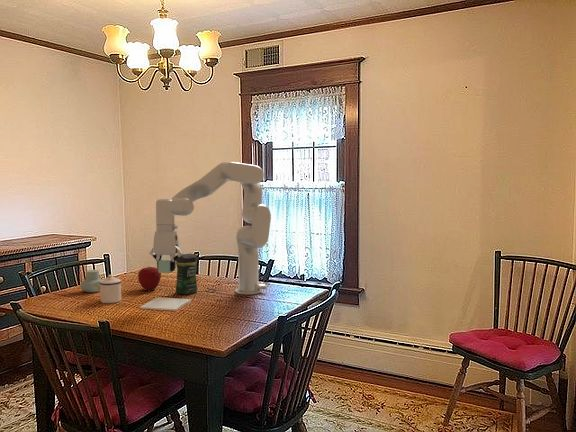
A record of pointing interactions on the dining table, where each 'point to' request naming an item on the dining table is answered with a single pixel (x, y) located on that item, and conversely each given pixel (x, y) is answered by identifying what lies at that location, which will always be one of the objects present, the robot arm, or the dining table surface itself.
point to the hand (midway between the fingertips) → (166, 269)
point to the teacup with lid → (110, 290)
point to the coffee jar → (186, 274)
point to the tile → (165, 304)
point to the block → (164, 266)
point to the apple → (149, 278)
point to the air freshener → (91, 281)
